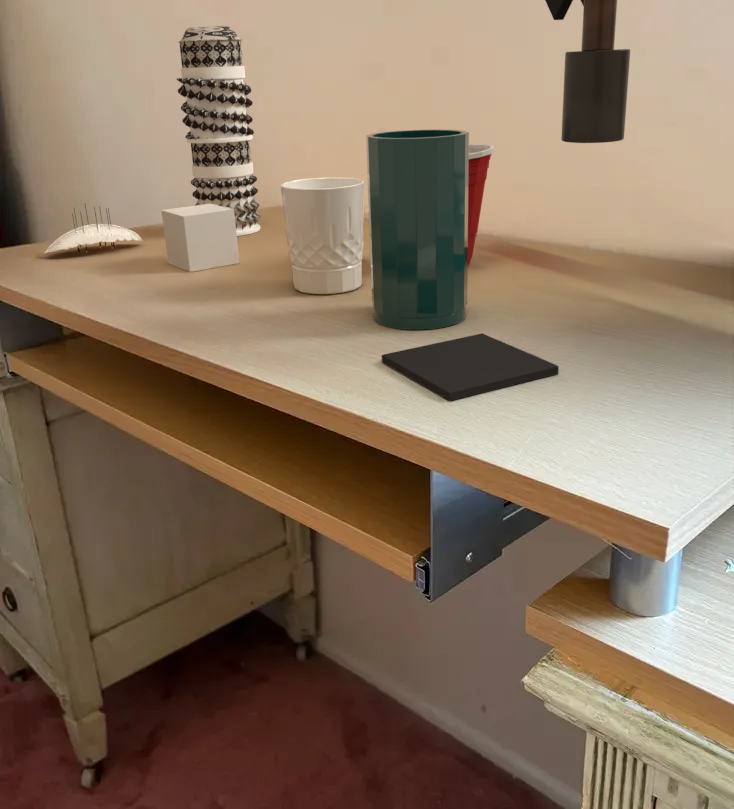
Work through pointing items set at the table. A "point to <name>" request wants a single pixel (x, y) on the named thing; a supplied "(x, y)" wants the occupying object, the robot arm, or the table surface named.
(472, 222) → the plastic cup
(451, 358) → the mat
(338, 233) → the white cup
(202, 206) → the off-white cube
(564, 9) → the robot arm
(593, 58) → the bottle brush
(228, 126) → the bracelet display stand
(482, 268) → the table surface
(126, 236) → the pincushion
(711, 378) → the table surface
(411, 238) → the tumbler
